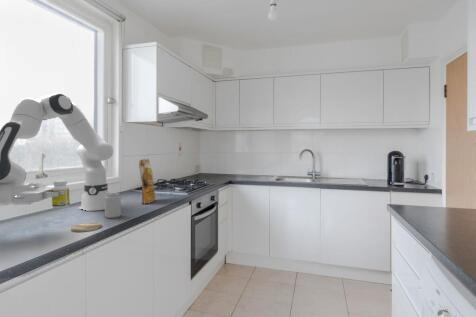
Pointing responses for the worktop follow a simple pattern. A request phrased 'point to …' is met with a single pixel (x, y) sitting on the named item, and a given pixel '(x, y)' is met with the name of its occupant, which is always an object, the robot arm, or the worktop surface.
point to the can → (112, 205)
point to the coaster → (86, 227)
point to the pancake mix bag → (146, 181)
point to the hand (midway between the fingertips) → (63, 192)
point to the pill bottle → (61, 194)
